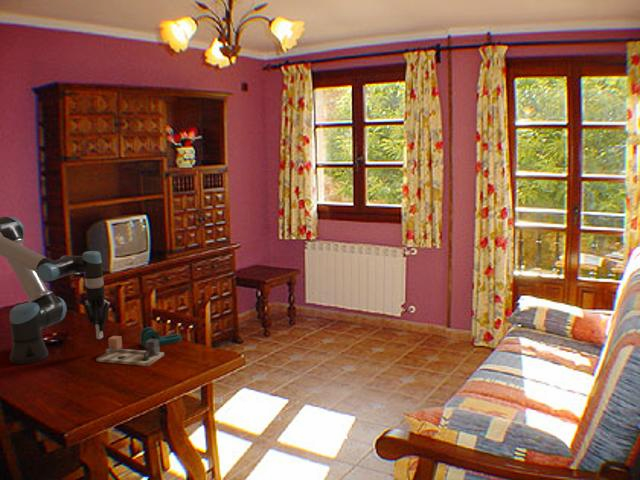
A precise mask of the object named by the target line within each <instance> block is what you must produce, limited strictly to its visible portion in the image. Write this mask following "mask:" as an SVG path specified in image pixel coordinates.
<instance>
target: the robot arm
mask: <svg viewBox="0 0 640 480" xmlns="http://www.w3.org/2000/svg"><path fill="white" fill-rule="evenodd" d="M24 235H25V227H24V224H23V223H22V222H21V220H20V219H18V218H16V217H13V216H0V256H1V257H4V258H5V259H7V262H8V263H9V265H10V267H11V269H12V270H13V273H14V274H15V276H16V278H17V280H18V281H19V283H20V285H21V287H22V289H23V291H24V293H25V294H26V296H27V298H28V301H27V302H25V303H21V304H18V305H15V306H14V307H12V308H11V309H10V311H9V322H10V331H11V339H12V345H11V350H10V354H9V361H10V363H12V364H16V365H17V364H18V365H19V364H20V365H22V364H32V363H36V362H39V361H42V360H45V359H46V358H47V357H48V356H49V349H48V348H47V346H46V343H45V341H44V339H43V335H42V333H43V332H42V330H43V329H46V328H48V327H50V326H52V325H57V324H58V323H59V322H61V321H63V320H64V319H65V317H66V314H67V311H68V310H67V304H66V302H65V300H64V299H63V298H61V297H60V296H55V293H54V292H53V291H52V290H48V288H47V287H46V285H45V282H51V281H56V280H58V279H61V278H64V277H66V276H70V275H73V274H84V275H83V276H84V282H85V285H84V286H85V287H86V288H85V294H86V295H85V296H87V298H86V300H85V301H83V302H82V303H81V304H82V305H83V307H84V308H85V309H84V310H85V312H86V314H87V318H88V322H89V324H93V329H94V331H95V335H96V336H95V337H96V340H101V339H102V338H104V332H103V331H104V330H105V327H104V324H105V323H107V322H108V318H109V310H110V306H111V303H112V302H111V301H108V300H107V299H106V297H105V293H106V292H105V286H104V285H105V283H104V275H103V260H102V255H101V252H100V251H97V250H89V251H84V252H83V253H82V255H72V254H71V255H62V256H61V257H60V258H58V259H56V260H53V259H50V258H49V257H46V256H44V255H42V254H40V253H38V252H36V251H34V250H32V249H30V248H29V247H26V246H24V242H25V239H24Z"/></svg>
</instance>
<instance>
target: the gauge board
mask: <svg viewBox="0 0 640 480" xmlns="http://www.w3.org/2000/svg"><path fill="white" fill-rule="evenodd" d="M164 356H165V352H164V351H162V352H161V351H160V346H159V339H149V340H148V341H146V349H145V350H140V349H127V348H120V349H118V350H110V351H108V356H106V352H104V354H102V355H100V356H98V357H97V358H96V362H99V363H110V364H111V363H112V364H120V365H122V364H123V365H132V366H133V365H134V366H144V367H149V366H151V365H152V364H154V363H155V362H157V361H158V360H160V359H161V358H162V357H164Z"/></svg>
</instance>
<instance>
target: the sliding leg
mask: <svg viewBox="0 0 640 480" xmlns="http://www.w3.org/2000/svg"><path fill="white" fill-rule="evenodd" d="M107 341H108V342H107V343H108V348H106V349H105V350H104V351H105V352H104V353H106V356H108V352H109V351H110V350H118V349H123V338H122V336H121V335H120V336H119V335H112V336H110V337H109V338H107Z"/></svg>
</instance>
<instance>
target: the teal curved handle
mask: <svg viewBox="0 0 640 480" xmlns="http://www.w3.org/2000/svg"><path fill="white" fill-rule="evenodd" d="M149 339H159V347H160V346H166V345H172V344H176V343H180V342H182V340H183V337H182V334H180V333H173V334H171V333H170V334H167V335H161V336H160V334H159V333H158V332H157V330H155V329H154V328H153V327H150V326H148V327H145V328H143V329H141V331H140V344H141V346H142V347H143V348H144V349H145V348H146V341H148V340H149Z"/></svg>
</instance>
